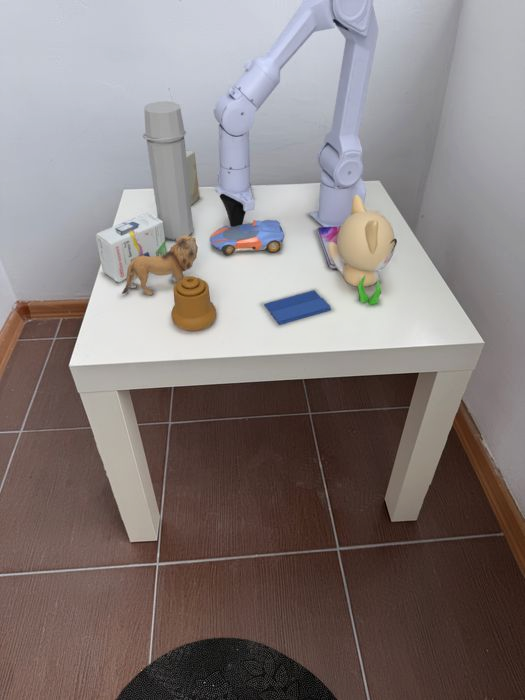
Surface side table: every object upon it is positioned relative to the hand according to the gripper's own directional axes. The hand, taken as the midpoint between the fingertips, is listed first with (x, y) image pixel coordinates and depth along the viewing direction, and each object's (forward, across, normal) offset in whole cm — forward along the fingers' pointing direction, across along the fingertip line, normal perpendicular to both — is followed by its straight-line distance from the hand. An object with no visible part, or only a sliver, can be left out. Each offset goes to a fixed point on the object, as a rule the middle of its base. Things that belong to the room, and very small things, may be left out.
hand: (236, 227), depth 106 cm
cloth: (+1, +28, 0) cm, 28 cm away
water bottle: (+2, -6, -12) cm, 13 cm away
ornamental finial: (+2, +24, -17) cm, 29 cm away
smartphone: (+2, +14, +17) cm, 22 cm away
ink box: (-3, +2, -17) cm, 17 cm away
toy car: (+2, +5, 0) cm, 5 cm away
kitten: (+2, +26, +14) cm, 30 cm away
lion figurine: (+2, +12, -19) cm, 23 cm away
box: (+2, -19, -5) cm, 20 cm away
